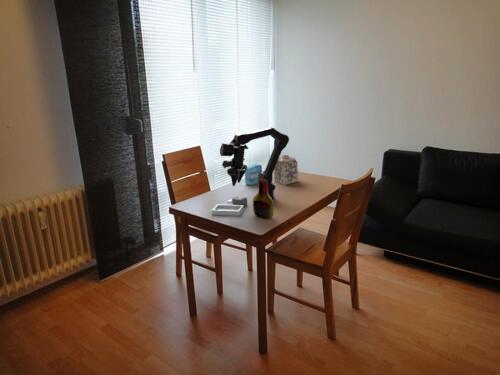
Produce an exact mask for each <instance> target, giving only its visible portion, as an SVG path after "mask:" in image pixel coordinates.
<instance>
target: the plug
mask: <svg viewBox="0 0 500 375" xmlns="http://www.w3.org/2000/svg"><path fill="white" fill-rule="evenodd" d="M227 204H231V205H244V207H247V206H248V197H242V196H241V197H239V196H238V197H236V196H234V197H232V198H231V199H228V200H227Z"/></svg>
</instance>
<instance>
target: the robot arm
mask: <svg viewBox="0 0 500 375" xmlns="http://www.w3.org/2000/svg"><path fill="white" fill-rule="evenodd" d="M269 136H270V137H272V138H273V139H274V141H273V150H272V151H271V154H270V156H269V160H268V162H267V165H266V167H265V169H264V171H262V173H261V172H260V175H259V177H258V183H257V184H259V181H260V180H261V179H266V180H268V194H269V196H270V197H271V198H272V200H273V201H274V199H275V197H276V196H275V190H276V186H275V184H273V183H272V182H273V178H274V177H273V174H274V169H275V166H276V164H277V161H278V159H279V158H280V156H281V154H282V151H284V149H285V148H286V147H287V146H288V144H289V142H290V137H289V136H288V135H287V134H284V133H281V132H280V131H278V130H277V129H276V128H275V127H271V126H268V127H266V128H263V129H259V130H255V131H254V130H253V131H251V132H237V133H235V135H234V136H233V138H232V140H231V141H230V142H229V143H226V142H225V143H224V142H223V143H221V146H220V149H219V154H220V156H221V157H232V158H231V159H230V160H223V162H221V166H222V167H223V169H226V168H227V170H226V174H227V175H229V176H230V179H231V180H230V181H231V184H232V186H233V187H235V186H236V185H237V183H238V184H239V183H240V182H241V181H242V179H243V177H244V176H245V172H246V170H247V167H248V165H247V164H244V161H245V150H248V149H249V147H248V145H247V144H248V143H250V142H251V141H253V140H256V139H261V138H265V137H269Z"/></svg>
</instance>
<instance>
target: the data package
mask: <svg viewBox="0 0 500 375" xmlns="http://www.w3.org/2000/svg"><path fill="white" fill-rule="evenodd" d="M260 172H261V173H263V168H262V164H257V163H256V164H255V163H254V164H252V165H247V170H246V172H245V174H244V180H245V184H246V185H249V186H253V185H257V184H259V183H258V177H259V175H260Z"/></svg>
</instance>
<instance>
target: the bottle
mask: <svg viewBox="0 0 500 375" xmlns="http://www.w3.org/2000/svg"><path fill="white" fill-rule="evenodd" d="M252 207H253V208H252V209H253V214H254V216H256V217H258V218H259V217H260V218H263V219H271V218H273V217H274V210H275V209H274V207H275V204H274V199H273V200H272V198H271V197H270V196H269V194H268V180H266V179H261V180H260V181H259V183H258V192H257V193H256V194H255V195H254V196H253V198H252Z"/></svg>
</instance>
